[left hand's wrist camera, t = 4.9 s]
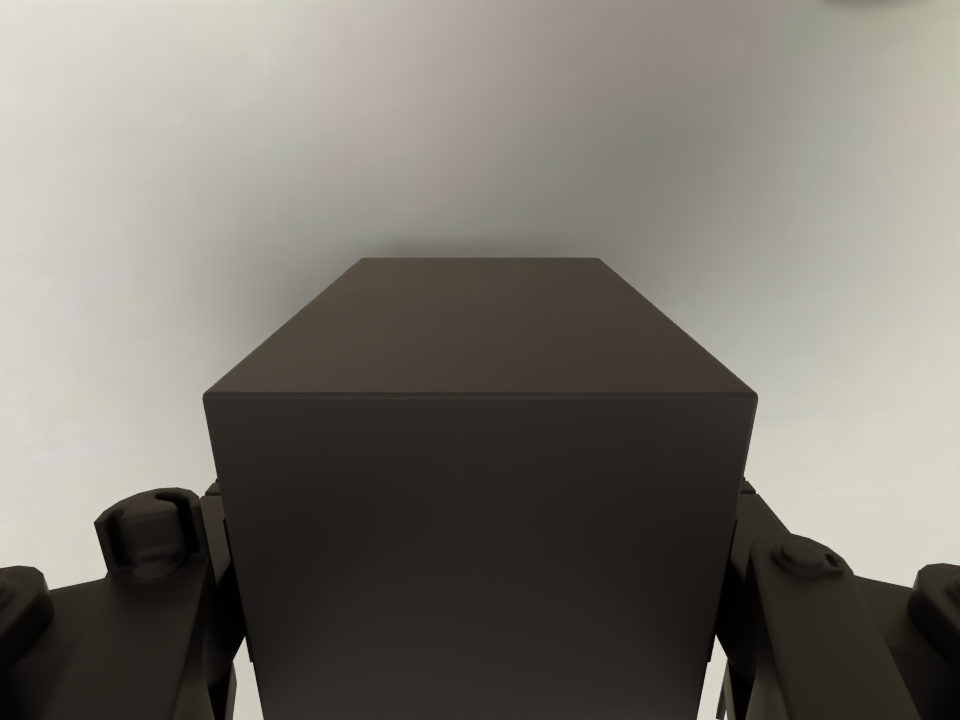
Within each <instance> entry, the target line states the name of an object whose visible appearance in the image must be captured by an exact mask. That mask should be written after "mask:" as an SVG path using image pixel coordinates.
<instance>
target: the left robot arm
mask: <svg viewBox="0 0 960 720" xmlns="http://www.w3.org/2000/svg"><path fill="white" fill-rule="evenodd" d="M94 525H95V529H96V532H97V536H98V539H99V543H100V546H101V549H102V553H103V556H104V560H105V563H106V567H107V570H108V572H107V574H106V576H105V578H103V579H99V580H95V581H91V582H86V583H81V584H77V585H72V586H67V587H62V588H58V589H53V590H49V589H48V586H47V583H46V581H45V578H44V575H43V573H42V572H40V571H39V570H37V569H36V568H35V567H27V566H12V567H6V568H0V720H233V712H234V703H235V695H236V686H237V681H236V674H235V668H234V663H233V659H234V657H235V655H236V653H237V651H238V649H239V647H240V645H241V643H242V641H243V639H244V637H245V638H246V643H247V648H248V654H249V659H250V662H253V660H252V655H251V650H250V645H249V640H248V634H247V629H246V624H245V619H244V613H243V608H242V603H241V598H240V592H239V587H238V582H237V577H236V571H235V566H234V561H233V556H232V551H231V545H230V540H229V535H228V530H227V524H226V519H225V514H224V509H223V503H222V498H221V493H220V488H219V482H218V478H217V479H216V482H215V483H213V484H212V485H211V486H210V487H209V489H208V490H207V491H206V492H205V496H202V497H201V498H200V500H199V496H197V495H196V494H195V493H194V492H192V491H191V490H187V489H182V488H177V487H176V488H159V489H154V490H150V491H146V492H142V493H138V494H136V495H133V496H131V497H128V498H126V499H124V500H121V501H119V502H118V503H116V504H114V505H113V506H111V507H110V508H108V509H107V510H105V511H104V512H103V513H102V514H101V515H100V516H99V517H98V518H97V520H96V521H95V522H94ZM715 635H717V637H718V640H719V642H720V644H721V646H722V648H723V650H724V652H725V654H726V656H727V658H728V659H727V663H726V668H725V673H724V678H723V683H722V688H721V692H720V697H719V702H718V707H717V714H716V719H719V720H724V716H725V711H726V710H727V719H728V720H960V566H958V565H952V564H945V563H940V564H930V565H926V566H925V567H923V568H922V569H921V570H919V571H918V573H917V576H916V579H915V582H914V585H913V588H909V587H905V586H900V585H895V584H890V583H886V582H881V581H876V580H872V579H867V578H863V577H859V576H856V575H854V573H853V571H852V570H851V568H850V567H849V566H848V564H847V563H846V562H845V560H844V559H843V558H842V557H841V556H839V555H838V554H837V553H835V552H834V551H832V550H831V549H830V548H828V547H827V546H825V545H822V544H820V543H818V542H816V541H814V540H812V539H810V538H806V537H802V536H799V535H795V534H791V533H790V532H789V530H788V529H787V528H786V527H785V526H784V524H783V523H782V522H781V521H780V520H779V518H778V517H777V516H776V515H775V514H774V512H773V511H772V510H771V509H770V507H769V506H768V505H767V504H766V503H765V501H764V500H763V499H762V498H761V497H760V495H759V494H756V490H755V489H754V488H753V487H752V486H751V484H750V483H749V482H748V481H745V477H744V476H743V481H742V486H741V491H740V496H739V502H738V507H737V512H736V517H735V522H734V528H733V533H732V538H731V543H730V548H729V554H728V559H727V564H726V569H725V574H724V580H723V585H722V590H721V595H720V600H719V606H718V611H717V616H716V621H715V626H714V632H713V637H712V642H711V647H710V653H709V658H708V662H710V661H711V656H712V651H713V645H714V640H715Z"/></svg>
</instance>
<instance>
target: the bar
mask: <svg viewBox="0 0 960 720" xmlns="http://www.w3.org/2000/svg"><path fill="white" fill-rule="evenodd" d="M757 403H758V395H757V393H756V392H755V391H753V390H752V389H751V388H750V387H749V386H748V385H746V384H745V383H744V382H743V381H742V380H741V379H739V378H738V377H737V376H736V375H735V374H733V373H732V372H731V371H730V370H729V369H728V368H726V367H725V366H724V365H723V364H722V363H721V362H719V361H718V360H717V359H716V358H715V357H714V356H712V355H711V354H710V353H709V352H708V351H707V350H705V349H704V348H703V347H702V346H701V345H700V344H698V343H697V342H696V341H695V340H694V339H693V338H691V337H690V336H689V335H688V334H687V333H685V332H684V331H683V330H682V329H681V328H680V327H678V326H677V325H676V324H675V323H674V322H673V321H671V320H670V319H669V318H668V317H667V316H666V315H664V314H663V313H662V312H661V311H660V310H659V309H657V308H656V307H655V306H654V305H653V304H652V303H650V302H649V301H648V300H647V299H646V298H645V297H643V296H642V295H641V294H640V293H639V292H638V291H636V290H635V289H634V288H633V287H632V286H630V285H629V284H628V283H627V282H626V281H625V280H623V279H622V278H621V277H620V276H619V275H618V274H616V273H615V272H614V271H613V270H612V269H611V268H609V267H608V266H607V265H606V264H605V263H604V262H602V261H601V260H600V259H599V258H362V259H360V260H359V261H358V262H357V263H356V264H354V265H353V266H352V267H351V268H350V269H349V270H347V271H346V272H345V273H344V274H343V275H342V276H340V277H339V278H338V279H337V280H336V281H335V282H333V283H332V284H331V285H330V286H329V287H328V288H326V289H325V290H324V291H323V292H322V293H321V294H319V295H318V296H317V297H316V298H315V299H314V300H312V301H311V302H310V303H309V304H308V305H307V306H305V307H304V308H303V309H302V310H301V311H300V312H298V313H297V314H296V315H295V316H294V317H292V318H291V319H290V320H289V321H288V322H287V323H285V324H284V325H283V326H282V327H281V328H280V329H278V330H277V331H276V332H275V333H274V334H273V335H271V336H270V337H269V338H268V339H267V340H266V341H264V342H263V343H262V344H261V345H260V346H259V347H257V348H256V349H255V350H254V351H253V352H252V353H250V354H249V355H248V356H247V357H246V358H245V359H243V360H242V361H241V362H240V363H239V364H238V365H236V366H235V367H234V368H233V369H232V370H231V371H229V372H228V373H227V374H226V375H225V376H223V377H222V378H221V379H220V380H219V381H218V382H216V383H215V384H214V385H213V386H212V387H211V388H209V389H208V390H207V391H206V392H205V393H204V394H203V404H204V409H205V414H206V420H207V425H208V430H209V435H210V441H211V446H212V451H213V456H214V461H215V467H216V472H217V477H218V482H219V488H220V493H221V498H222V503H223V509H224V514H225V519H226V524H227V530H228V535H229V540H230V545H231V551H232V556H233V561H234V566H235V571H236V577H237V582H238V587H239V592H240V598H241V603H242V608H243V613H244V619H245V624H246V629H247V634H248V640H249V645H250V650H251V655H252V660H253V666H254V671H255V676H256V681H257V687H258V692H259V697H260V702H261V708H262V713H263V718H264V720H697V715H698V710H699V705H700V699H701V694H702V689H703V684H704V679H705V673H706V668H707V663H708V658H709V653H710V647H711V642H712V637H713V632H714V626H715V621H716V616H717V611H718V606H719V600H720V595H721V590H722V585H723V580H724V574H725V569H726V564H727V559H728V554H729V548H730V543H731V538H732V533H733V528H734V522H735V517H736V512H737V507H738V502H739V496H740V491H741V486H742V481H743V476H744V470H745V465H746V460H747V455H748V450H749V444H750V439H751V434H752V429H753V424H754V418H755V413H756V408H757Z"/></svg>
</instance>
